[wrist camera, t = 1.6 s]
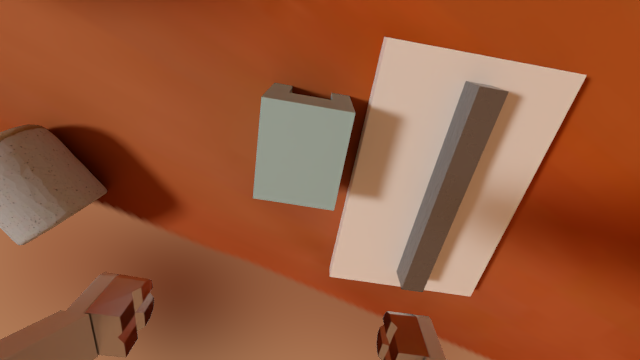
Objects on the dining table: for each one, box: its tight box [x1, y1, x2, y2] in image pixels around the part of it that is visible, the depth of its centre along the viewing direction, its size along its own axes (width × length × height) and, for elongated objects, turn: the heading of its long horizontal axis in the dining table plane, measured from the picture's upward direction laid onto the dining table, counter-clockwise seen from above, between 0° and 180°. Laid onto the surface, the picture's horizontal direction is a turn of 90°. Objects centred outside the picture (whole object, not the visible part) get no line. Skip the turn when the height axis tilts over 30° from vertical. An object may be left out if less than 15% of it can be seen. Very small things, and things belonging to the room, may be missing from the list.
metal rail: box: [396, 81, 509, 292], centre depth 28 cm, size 20×2×2 cm, turn 170°
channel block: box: [253, 83, 355, 211], centre depth 26 cm, size 8×6×6 cm
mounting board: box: [330, 37, 587, 296], centre depth 30 cm, size 24×16×2 cm, turn 170°
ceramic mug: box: [0, 125, 107, 245], centre depth 27 cm, size 11×8×8 cm
